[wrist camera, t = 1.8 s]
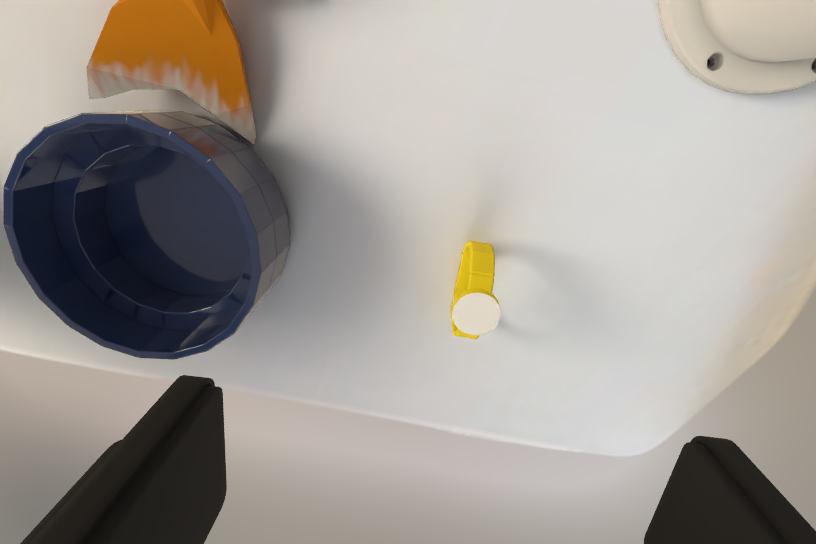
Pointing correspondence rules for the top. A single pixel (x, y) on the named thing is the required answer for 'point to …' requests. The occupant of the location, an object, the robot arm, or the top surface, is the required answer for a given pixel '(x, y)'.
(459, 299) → the watch
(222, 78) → the fish
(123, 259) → the navy bowl
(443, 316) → the top surface
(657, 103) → the top surface
